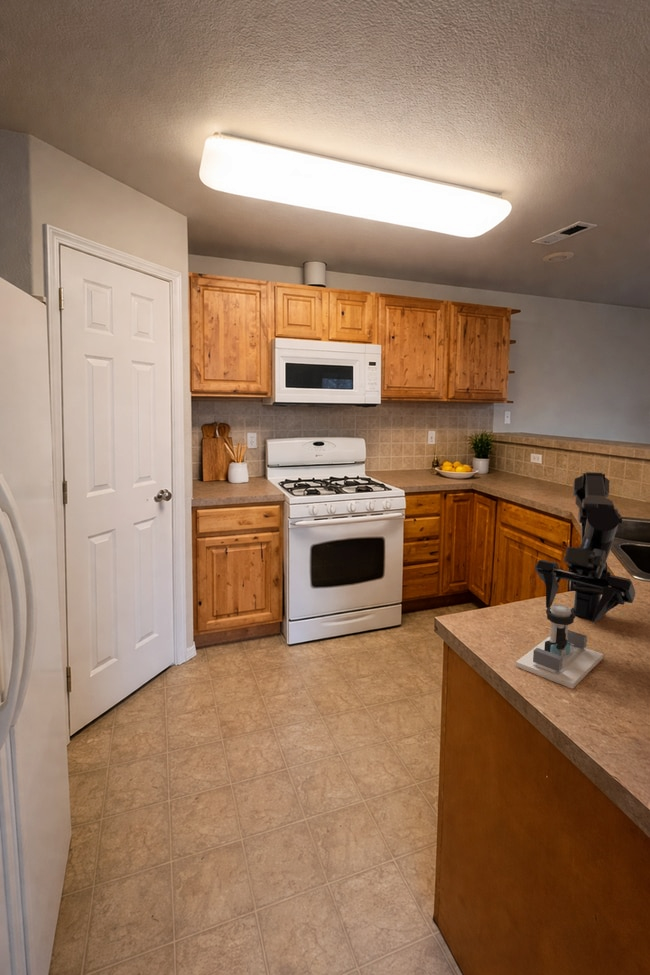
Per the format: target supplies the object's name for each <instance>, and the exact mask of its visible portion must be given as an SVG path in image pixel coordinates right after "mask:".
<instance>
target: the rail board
mask: <svg viewBox="0 0 650 975" xmlns="http://www.w3.org/2000/svg"><path fill="white" fill-rule="evenodd" d="M550 636H551V635H550ZM550 636H547V637H546V638H545V639H544V640H543V641H541V642H540V643H539V644H537V645H536V646H535V647H533V648H532V649H531V650H529V651H528V652H526V654H524V655H523V656H521V657H520V658H519V659H518V660H516V661H515V667H516V668H518V669H521V670H523V671H526V672H529V673H532V674H534V675H536V676H539V677H540V678H541V677H542V678H544V679H547V680H549V681H552V682H554V683H557V684H559V685H562V686H564V687H567V688H569V689H572V690H573V689H575V687H576V686H577V685H578V684H579V683H580V682H581V681H582V680H584V678H585V677H586V676H587V675H588V674H589V673H590V671H592V670H593V669H594V668H595V667H596V666H597V665H598V664H599V663H600V662H601V661H602V660H603V659H604V658H603V657H604V654H603V653H601V652H598V651H596V650H592V649H589V648H587V642H588V640H587V639H588V635H585V634H584V633H583V634H582V633H580V632H575V631H573V630H569V629H568V634H567V638H568V640H567V641H568V642H570V643H572V644H574V645H573V646H570V647H572V648H574V649H573V650H570V654H568V655H566V656H565V657H562V656H559V655H556V654H554V653H551V652H548V651H545V650H544V649H545V642H546V641H549V640H550ZM572 644H571V645H572ZM572 648H570V649H572Z"/></svg>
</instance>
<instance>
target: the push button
mask: <svg viewBox="0 0 650 975" xmlns="http://www.w3.org/2000/svg"><path fill="white" fill-rule="evenodd" d="M571 609H572V608H570V607H568V606H567V605H562V604H552V605H551V607H550V608H548V609H547V608H546V609H545V614H546V619H547V620H548V621H549V622H550V623H551V625H550V640H549V641H546V642H545V649H544V650H545V651H548V652H551V653H554V654H556V655H559V656H562V657H565V656H566V655H568V654H570V650H573V649H574V648H572V647H570V646H573V645H574V644H572V643H570V642H568V641H567V640H568V638H567V634H568V630H569V625H572V624H573V623H574V620H575V618H576V615H575V614H574V613H573V612H572V611H571ZM571 644H572V645H571ZM570 648H572V649H570Z"/></svg>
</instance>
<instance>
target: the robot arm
mask: <svg viewBox="0 0 650 975" xmlns="http://www.w3.org/2000/svg"><path fill="white" fill-rule="evenodd" d="M609 494H610V479H608V478H607V477H606V474H605V473H602V472H595V471H594V472H591V471H586V472H583V473H582V475H581V476H578V477H576V478H574V479H573V489H572V496H575V502H574V503H575V504H576V506H577V507H578V513H577V514H578V515H577V516H578V517H577V518H578V519H577V522H578V523H579V524H580V528H581V530H580V532H581V533H580V537H581V538H580V546H577V547H572V546H567V547H566V550H565V555H564V560H563V562H565V563H566V567H567V568H568V569H569V570H565V569H561V568H560V567H559V564H558V563H557V562H555V561H550V560H547V559H539V561H537V562H536V564H535V566H534V570H535V572H536V574H537V575H538V577H539V578H540V580H541V581H542V582H544V585H545V607H546V610H547V609H548V608H551V606H553V602H554V601H555V598H556V595H557V592H558V591H559V588H560V585H559V584H558V583H560V582H561V580H564V581H565V580H566V581H569V585H568V586H569V591H570V592H574V601H573V604H574V605H573V607H572V608H570V609H571V611H572V612H573V613H574V614H575V616H577V617H581V618H584V619H587V620H591V621H592V623H597V622H598V621H599V620H600V619H602V617H604V616H605V615H606V614H607V613H608V612H610V611H611V610H612V609H615V607H617V606H618V605H621V606H622V605H623V606H624V605H625V603H629V604H632V603H634V601H635V600H634V599H635V596H636V590H635V587H634V584H633V582H632V580H631V578H627V577H622V576H617V575H613V574H611V572H610V571H608V562H607V561H608V557H609V555H610V552H611V550H612V547H613V543H614V542H615V536H616V533H617V530H618V527H619V526H620V524H623V517H622V515H621V514H620V513H619V511H618V509H617V508H615V505H614V502H613V500H612V499H610V498H608V497H609Z"/></svg>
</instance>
